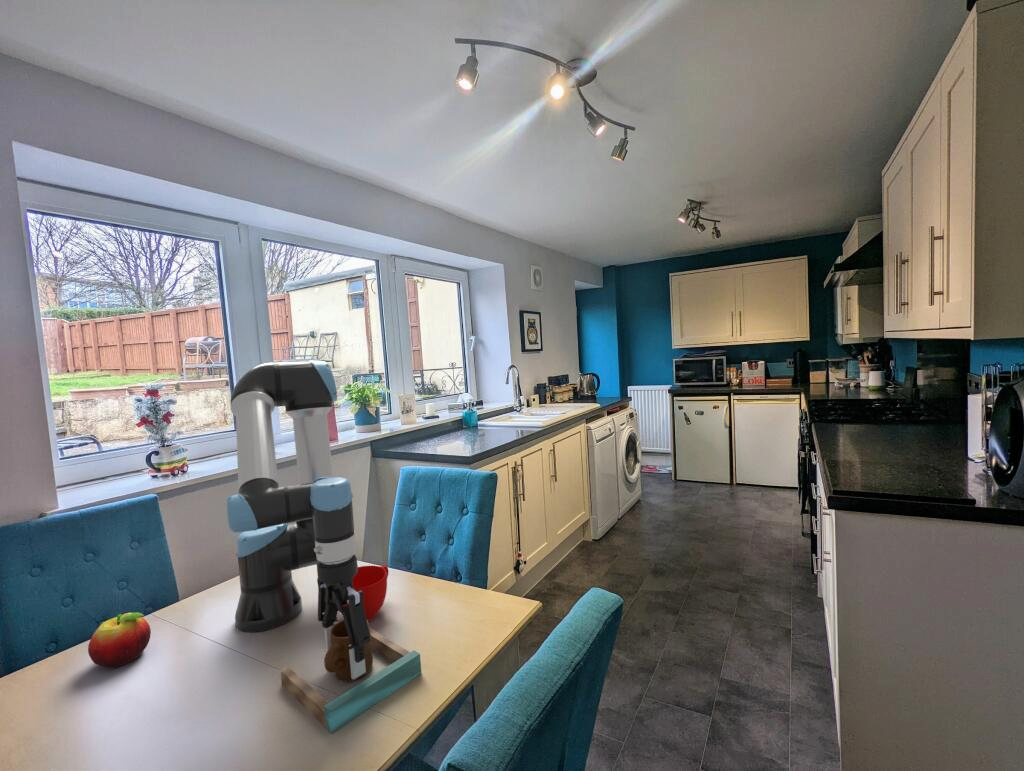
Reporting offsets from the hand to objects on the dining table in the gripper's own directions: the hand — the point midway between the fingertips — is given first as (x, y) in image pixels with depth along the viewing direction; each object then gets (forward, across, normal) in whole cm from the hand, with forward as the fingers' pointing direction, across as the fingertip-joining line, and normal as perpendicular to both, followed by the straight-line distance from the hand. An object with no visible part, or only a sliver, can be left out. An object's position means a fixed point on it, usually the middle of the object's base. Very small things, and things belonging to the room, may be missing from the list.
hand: (346, 665), depth 95 cm
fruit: (+2, -47, -28) cm, 55 cm away
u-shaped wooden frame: (+2, +1, 0) cm, 2 cm away
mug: (+2, +1, 0) cm, 2 cm away
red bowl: (+2, -18, +16) cm, 24 cm away
